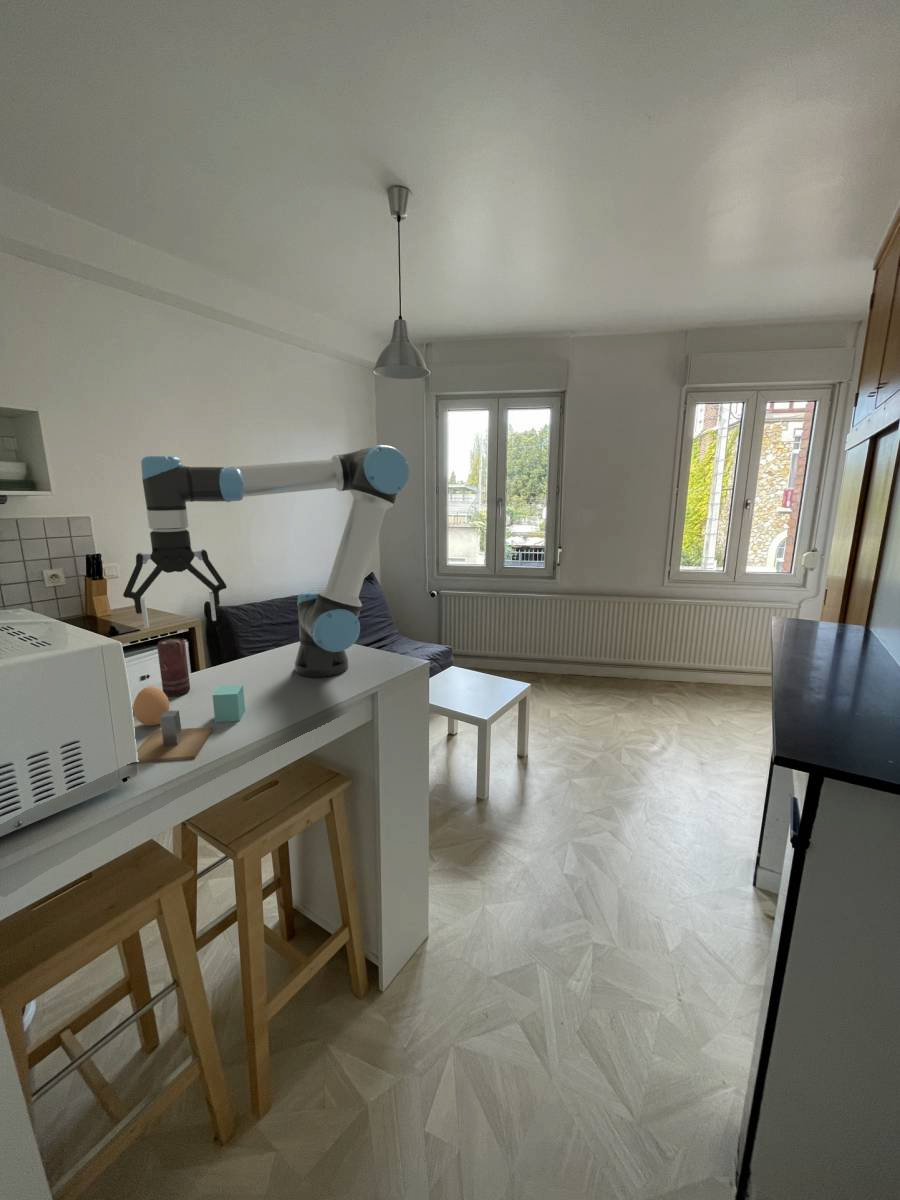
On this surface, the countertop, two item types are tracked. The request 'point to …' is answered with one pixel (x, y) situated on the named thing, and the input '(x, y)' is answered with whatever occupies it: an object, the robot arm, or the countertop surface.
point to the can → (173, 666)
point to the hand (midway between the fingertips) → (181, 623)
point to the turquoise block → (229, 703)
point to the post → (171, 728)
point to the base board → (185, 749)
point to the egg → (150, 705)
